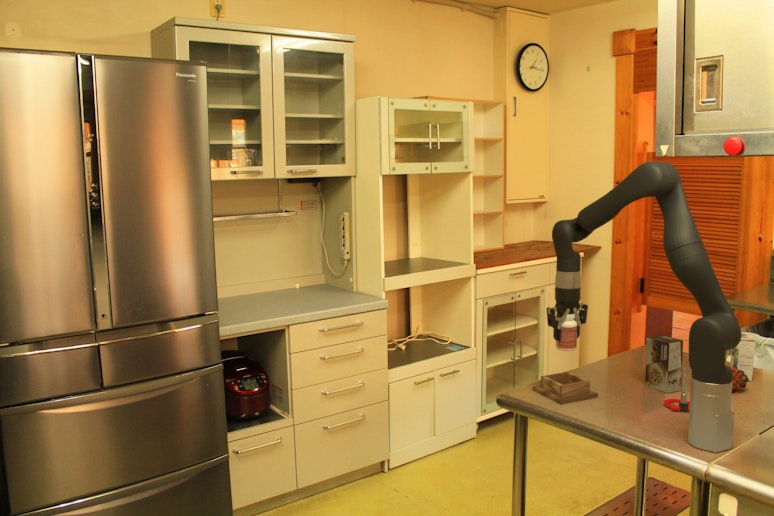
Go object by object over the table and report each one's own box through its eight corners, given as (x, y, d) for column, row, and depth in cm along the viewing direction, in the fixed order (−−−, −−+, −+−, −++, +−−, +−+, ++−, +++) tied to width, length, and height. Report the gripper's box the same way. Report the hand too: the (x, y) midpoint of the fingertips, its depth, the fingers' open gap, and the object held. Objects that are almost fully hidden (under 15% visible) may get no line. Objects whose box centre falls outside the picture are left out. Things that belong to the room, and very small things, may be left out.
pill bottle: (580, 350, 199) (581, 314, 198) (563, 352, 197) (564, 316, 196) (568, 345, 205) (569, 310, 204) (551, 347, 203) (552, 312, 202)
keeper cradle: (598, 397, 200) (598, 382, 199) (560, 404, 194) (561, 389, 193) (568, 383, 212) (568, 369, 212) (532, 390, 207) (532, 375, 206)
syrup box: (729, 374, 219) (731, 332, 217) (748, 376, 217) (751, 333, 215) (733, 380, 213) (735, 336, 211) (753, 381, 212) (756, 337, 210)
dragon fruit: (751, 398, 201) (707, 398, 206) (748, 376, 207) (706, 376, 212) (749, 382, 196) (705, 382, 201) (746, 359, 202) (703, 360, 207)
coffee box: (681, 390, 205) (684, 340, 202) (667, 393, 202) (669, 343, 199) (658, 382, 213) (660, 333, 210) (643, 385, 210) (646, 336, 208)
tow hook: (660, 401, 197) (668, 412, 187) (661, 359, 195) (670, 367, 186) (689, 403, 195) (699, 413, 186) (691, 360, 194) (701, 369, 185)
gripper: (556, 289, 192) (555, 344, 195) (595, 285, 198) (593, 339, 200) (540, 285, 199) (539, 338, 201) (578, 281, 205) (577, 333, 207)
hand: (566, 338), depth 201 cm, fingers closed on pill bottle, 6 cm apart
